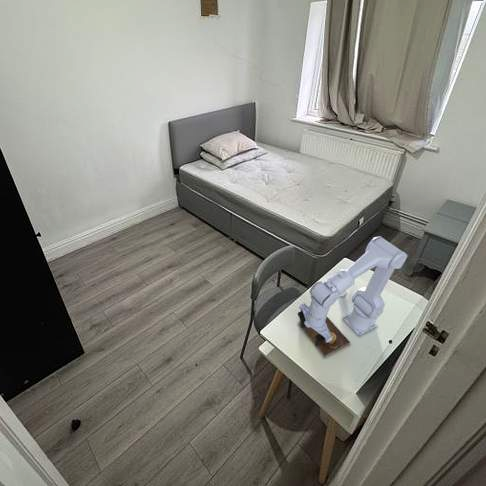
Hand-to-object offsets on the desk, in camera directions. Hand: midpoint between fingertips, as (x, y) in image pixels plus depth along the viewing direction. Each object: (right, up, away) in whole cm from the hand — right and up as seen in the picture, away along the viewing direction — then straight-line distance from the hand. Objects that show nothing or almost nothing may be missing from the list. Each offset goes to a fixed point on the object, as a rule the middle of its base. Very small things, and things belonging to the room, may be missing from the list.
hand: (310, 335), depth 102 cm
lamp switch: (+9, -4, +6) cm, 12 cm away
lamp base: (+9, -4, +11) cm, 15 cm away
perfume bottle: (+23, +7, +27) cm, 37 cm away
